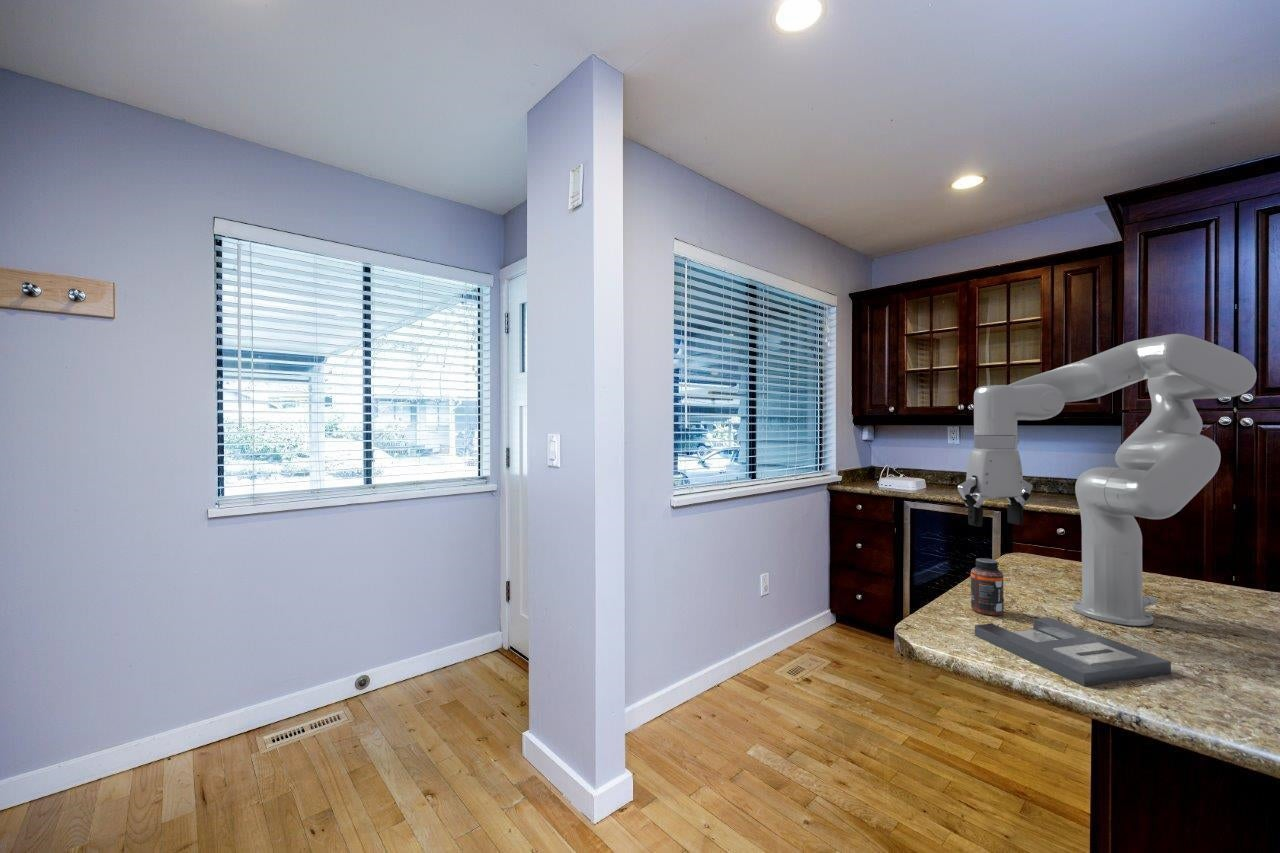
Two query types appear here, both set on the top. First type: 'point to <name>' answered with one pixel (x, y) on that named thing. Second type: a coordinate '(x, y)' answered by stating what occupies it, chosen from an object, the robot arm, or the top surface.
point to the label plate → (1075, 652)
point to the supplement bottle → (987, 588)
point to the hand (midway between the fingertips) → (995, 524)
